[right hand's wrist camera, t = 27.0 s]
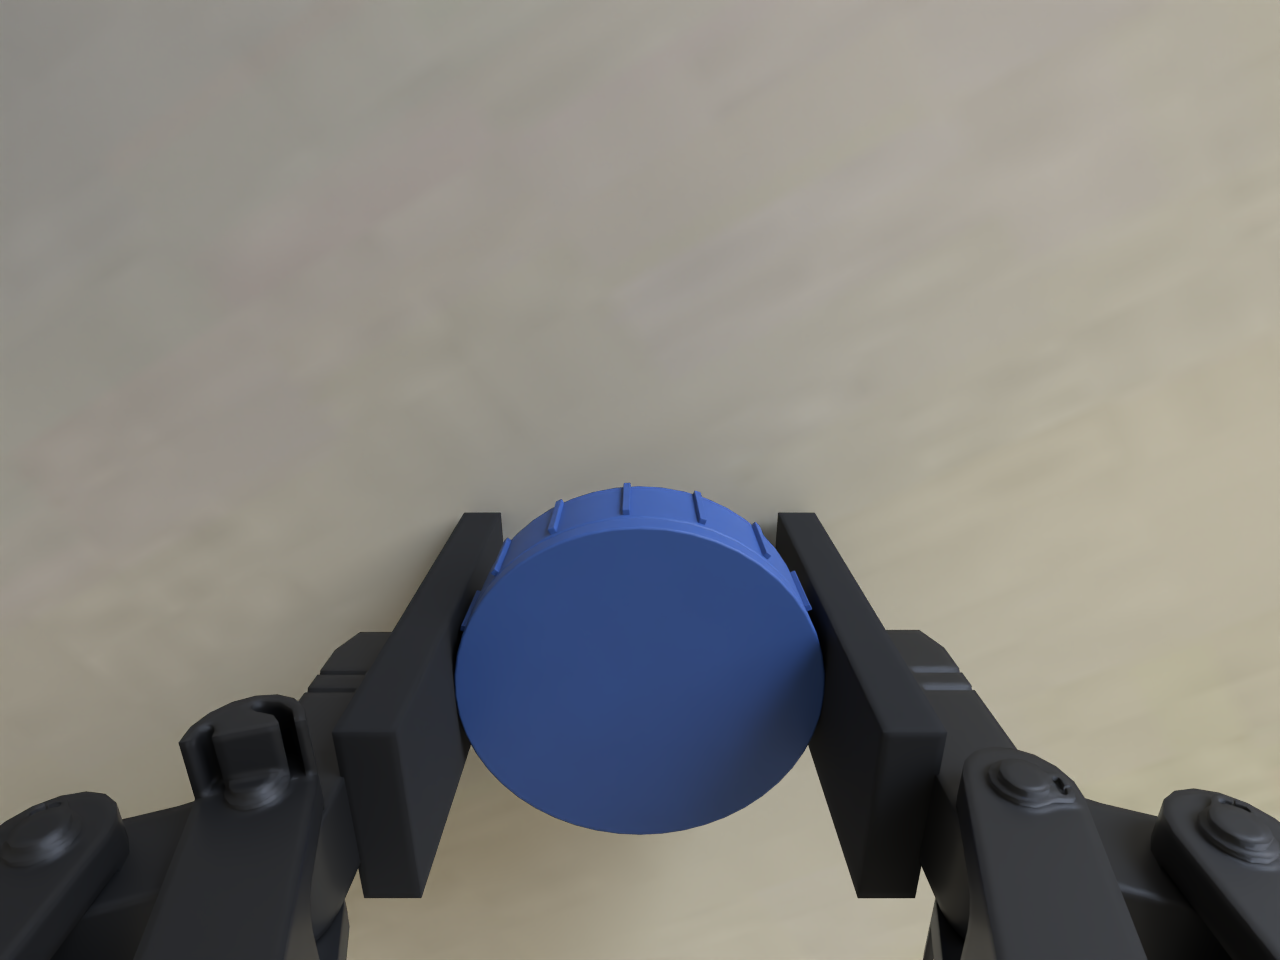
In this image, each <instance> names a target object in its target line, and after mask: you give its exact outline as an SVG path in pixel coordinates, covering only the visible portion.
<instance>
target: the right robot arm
mask: <svg viewBox="0 0 1280 960" xmlns="http://www.w3.org/2000/svg"><path fill="white" fill-rule="evenodd" d="M502 545H503V536H502V523H501V513H464V514H463V516H462V517H461V519H460V521H459V522H458V524H457V526H456V527H455V529H454V531H453V532H452V534H451V536H450V537H449V539H448V541H447V542H446V544H445V546H444V547H443V549H442V551H441V552H440V554H439V555H438V557H437V559H436V560H435V562H434V564H433V565H432V567H431V569H430V570H429V572H428V574H427V575H426V577H425V579H424V580H423V582H422V584H421V585H420V587H419V589H418V590H417V592H416V593H415V595H414V597H413V598H412V600H411V602H410V603H409V605H408V607H407V608H406V610H405V612H404V613H403V615H402V617H401V618H400V620H399V622H398V623H397V625H396V627H395V628H394V630H393V632H360V633H358V634H357V635H355V636H354V637H353V638H351V639H350V640H348V641H347V642H346V643H344V644H343V645H341V646H340V647H339V648H337V649H336V650H335V651H334V652H333V654H332V655H331V657H330V658H329V659H328V661H327V662H326V664H325V665H324V666H323V668H322V669H321V671H320V675H317V676H316V678H315V679H314V680H313V682H312V683H311V685H310V686H309V687H308V692H307V693H304V694H303V696H302V697H301V699H300V700H299V701H297V700H296V699H294V698H291V697H286V696H282V695H278V694H277V695H260V696H253V697H249V698H246V699H242V700H238V701H234V702H231V703H229V704H227V705H225V706H223V707H221V708H219V709H217V710H215V711H212V712H210V713H209V714H207V715H206V716H205V717H203V718H202V719H201V720H199V721H198V722H197V723H195V724H194V725H193V726H191V727H190V728H189V730H188V731H187V732H186V734H185V735H184V736H183V738H182V739H181V740H180V742H179V746H180V749H181V753H182V756H183V759H184V763H185V766H186V770H187V773H188V776H189V780H190V783H191V786H192V790H193V793H194V797H195V801H193V802H190V803H187V804H184V805H180V806H177V807H173V808H169V809H164V810H160V811H156V812H152V813H147V814H143V815H139V816H135V817H131V818H126V819H122V818H121V815H120V812H119V809H118V807H117V804H116V802H115V801H113V800H112V799H111V798H110V797H109V796H107V795H106V794H102V793H94V792H81V793H75V794H69V795H63V796H59V797H56V798H54V799H51V800H48V801H46V802H43V803H40V804H37V805H35V806H32V807H30V808H29V809H27V810H25V811H23V812H22V813H20V814H18V815H16V816H14V817H13V818H11V819H9V820H7V821H6V822H4V823H3V824H2V825H0V960H346V957H347V947H348V937H349V920H348V913H347V908H346V903H345V897H346V895H347V893H348V890H349V888H350V886H351V883H352V881H353V879H354V876H355V874H356V872H357V870H358V869H359V874H360V879H361V884H362V889H363V894H364V898H421V897H422V894H423V891H424V888H425V885H426V882H427V879H428V876H429V873H430V870H431V866H432V863H433V860H434V857H435V854H436V851H437V848H438V845H439V842H440V839H441V836H442V832H443V829H444V826H445V823H446V820H447V817H448V814H449V811H450V808H451V805H452V802H453V798H454V795H455V792H456V789H457V786H458V783H459V780H460V777H461V774H462V771H463V768H464V764H465V761H466V758H467V755H468V752H469V749H470V746H471V743H470V741H469V739H468V737H467V736H466V733H465V730H464V728H463V725H462V722H461V719H460V717H459V713H458V708H457V703H456V697H455V682H454V672H455V664H456V655H457V651H458V648H459V644H460V641H461V637H462V634H463V631H460V628H461V625H462V623H463V620H464V618H465V616H466V614H467V611H468V609H469V607H470V605H471V602H472V600H473V598H474V596H475V593H476V591H477V590H479V591H481V590H482V588H483V585H484V583H485V581H486V579H487V576H488V574H489V572H490V570H491V568H492V566H493V564H494V563H495V561H496V559H497V557H498V554H499V552H500V550H501V547H502ZM775 549H776V550H777V552H778V553H779V555H780V556H781V558H782V559H783V561H784V562H785V564H786V565H787V567H788V569H789V572H792V571H795V572H796V574H797V577H798V579H799V581H800V583H801V586H802V588H803V590H804V592H805V595H806V597H807V599H808V601H809V603H810V606H811V608H812V610H809V611H807V612H808V614H809V617H810V619H811V622H812V624H813V626H814V628H815V631H816V633H817V636H818V640H819V643H820V646H821V650H822V653H823V661H824V669H825V688H824V698H823V704H822V709H821V714H820V717H819V720H818V723H817V726H816V728H815V731H814V734H813V736H812V738H811V740H810V742H809V743H808V746H809V749H810V752H811V755H812V758H813V761H814V764H815V767H816V770H817V773H818V777H819V780H820V783H821V786H822V789H823V792H824V795H825V798H826V801H827V804H828V807H829V811H830V814H831V817H832V820H833V823H834V826H835V829H836V832H837V835H838V838H839V841H840V844H841V848H842V851H843V854H844V857H845V860H846V863H847V866H848V869H849V872H850V875H851V878H852V881H853V885H854V888H855V891H856V894H857V897H858V898H915V896H916V890H917V885H918V880H919V875H920V870H921V866H922V868H923V870H924V873H925V875H926V877H927V880H928V882H929V884H930V886H931V889H932V891H933V893H934V896H935V903H934V908H933V912H932V917H931V922H930V927H929V931H928V936H927V941H926V946H925V950H924V957H923V960H933V959H934V960H1280V822H1279V821H1277V820H1276V819H1275V818H1273V817H1271V816H1270V815H1268V814H1266V813H1264V812H1262V811H1261V810H1259V809H1257V808H1255V807H1253V806H1252V805H1250V804H1248V803H1246V802H1243V801H1240V800H1238V799H1235V798H1232V797H1229V796H1227V795H1224V794H1221V793H1218V792H1212V791H1206V790H1200V789H1186V790H1178V791H1174V792H1173V793H1171V794H1170V795H1169V796H1168V797H1166V798H1165V799H1164V801H1163V803H1162V806H1161V809H1160V812H1159V815H1158V817H1157V816H1153V815H1149V814H1145V813H1140V812H1136V811H1132V810H1128V809H1123V808H1119V807H1115V806H1110V805H1106V804H1102V803H1099V802H1095V801H1092V800H1089V799H1086V798H1084V796H1083V795H1082V793H1081V792H1080V790H1079V788H1078V787H1077V785H1076V784H1075V782H1074V781H1073V780H1072V779H1070V778H1069V777H1068V776H1067V775H1066V774H1064V773H1063V772H1062V771H1061V770H1060V769H1059V768H1057V767H1056V766H1054V765H1052V764H1051V763H1049V762H1047V761H1045V760H1043V759H1041V758H1039V757H1038V756H1036V755H1033V754H1030V753H1027V752H1023V751H1020V750H1017V748H1016V747H1015V746H1014V744H1013V743H1012V741H1011V740H1010V739H1009V737H1008V736H1007V735H1006V733H1005V732H1004V730H1003V729H1002V728H1001V726H1000V725H999V723H998V722H997V721H996V719H995V718H994V716H993V715H992V714H991V712H990V711H989V709H988V708H987V707H986V705H985V704H984V702H983V701H982V700H981V698H980V697H979V696H978V694H977V693H976V691H975V690H972V688H971V684H970V683H969V682H968V680H967V679H966V677H965V676H964V675H963V673H960V672H959V668H958V666H957V665H956V663H955V662H954V661H953V659H952V658H951V657H950V655H949V654H948V652H947V651H946V650H945V648H944V647H942V646H941V645H940V644H938V643H937V642H935V641H934V640H933V639H931V638H930V637H928V636H927V635H926V634H924V633H923V632H921V631H920V630H885V628H884V627H883V625H882V623H881V622H880V620H879V618H878V617H877V615H876V613H875V612H874V610H873V608H872V607H871V605H870V603H869V602H868V600H867V598H866V597H865V595H864V594H863V592H862V590H861V589H860V587H859V585H858V584H857V582H856V580H855V579H854V577H853V575H852V574H851V572H850V570H849V569H848V567H847V565H846V564H845V562H844V561H843V559H842V557H841V556H840V554H839V552H838V551H837V549H836V547H835V546H834V544H833V542H832V541H831V539H830V537H829V536H828V534H827V532H826V531H825V529H824V527H823V526H822V524H821V523H820V521H819V519H818V518H817V516H816V514H815V513H778V523H777V536H776V548H775Z"/></svg>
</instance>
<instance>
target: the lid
mask: <svg viewBox="0 0 1280 960" xmlns="http://www.w3.org/2000/svg"><path fill="white" fill-rule="evenodd" d="M809 610H812V608H811V606H810V603H809V601H808V599H807V597H806V595H805V592H804V590H803V588H802V586H801V583H800V581H799V579H798V577H797V574H796V572H795V571H792V572H789V569H788V567H787V565H786V564H785V562H784V561H783V559H782V558H781V556H780V555H779V553H778V552H777V550H776V549H775V548H774V546H773V545H772V544H771V543H770V542H769V541H768V540H767V539H766V538H765V537H764V535H763V533H762V531H761V528H760V526H759V525H758V524H757V523H756V522H755V523H753V524H752V525H751V524H750V523H749V522H748V521H746V520H745V519H743V518H742V517H740V516H739V515H737V514H736V513H734V512H732V511H731V510H729V509H728V508H726V507H724V506H721V505H719V504H717V503H715V502H713V501H711V500H708V499H706V498H703V497H702V496H701V493H700V492H698V491H694V493H693V494H690V493H687V492H683V491H677V490H672V489H666V488H658V487H641V486H637V487H631V485H630V483H624V487H622V488H613V489H607V490H602V491H597V492H592V493H589V494H586V495H583V496H580V497H577V498H574V499H571V500H569V501H567V502H563V501H562V499H561V500H559V501H556V504H555V507H554V508H552V509H550V510H548V511H547V512H545V513H544V514H542V515H541V516H539V517H538V518H536V519H534V520H533V521H532V522H531V523H529V524H528V525H527V526H526V527H525V528H523V529H522V530H521V531H520V532H519V533H518V534H517V535H516V536H515V537H514V538H513V539H512V540H510V539H509V538H507V539H506V540H505V541H504V543H503V545H502V547H501V550H500V552H499V554H498V557H497V559H496V561H495V563H494V564H493V566H492V568H491V570H490V572H489V574H488V576H487V579H486V581H485V583H484V585H483V588H482V590H481V591H479V590H477V591H476V593H475V596H474V598H473V600H472V602H471V605H470V607H469V609H468V611H467V614H466V616H465V618H464V620H463V623H462V625H461V628H460V631H463V634H462V637H461V641H460V644H459V648H458V651H457V655H456V664H455V672H454V682H455V697H456V703H457V708H458V713H459V717H460V719H461V722H462V725H463V728H464V730H465V733H466V736H467V737H468V739H469V741H470V743H471V745H472V747H473V749H474V750H475V752H476V754H477V755H478V756H479V758H480V759H481V760H482V762H483V763H484V765H485V766H486V767H487V769H488V770H489V771H490V772H491V773H492V774H493V775H494V776H495V777H496V778H497V779H498V780H499V781H500V782H501V783H502V784H503V785H504V786H505V787H506V788H508V789H509V790H510V791H511V792H513V793H514V794H515V795H516V796H517V797H519V798H520V799H522V800H524V801H525V802H527V803H528V804H530V805H531V806H533V807H535V808H536V809H538V810H540V811H542V812H544V813H546V814H548V815H550V816H553V817H555V818H557V819H560V820H563V821H565V822H568V823H571V824H574V825H577V826H581V827H585V828H589V829H593V830H597V831H604V832H611V833H617V834H637V835H643V834H662V833H669V832H675V831H682V830H687V829H690V828H694V827H698V826H702V825H706V824H708V823H711V822H714V821H716V820H719V819H722V818H724V817H727V816H729V815H731V814H733V813H735V812H737V811H739V810H741V809H743V808H745V807H746V806H748V805H749V804H751V803H752V802H754V801H756V800H757V799H759V798H760V797H762V796H763V795H764V794H765V793H767V792H768V791H769V790H770V789H771V788H773V787H774V786H775V785H776V784H777V783H779V782H780V781H781V779H782V778H783V777H784V776H785V775H786V774H787V773H788V772H789V771H790V770H791V769H792V768H793V766H794V765H795V764H796V762H797V761H798V759H799V758H800V757H801V755H802V754H803V752H804V751H805V749H806V747H807V745H808V743H809V742H810V740H811V738H812V736H813V734H814V731H815V728H816V726H817V723H818V720H819V717H820V714H821V709H822V704H823V698H824V688H825V669H824V661H823V653H822V650H821V646H820V643H819V640H818V636H817V633H816V631H815V628H814V626H813V624H812V622H811V619H810V617H809V614H808V612H807V611H809Z"/></svg>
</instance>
